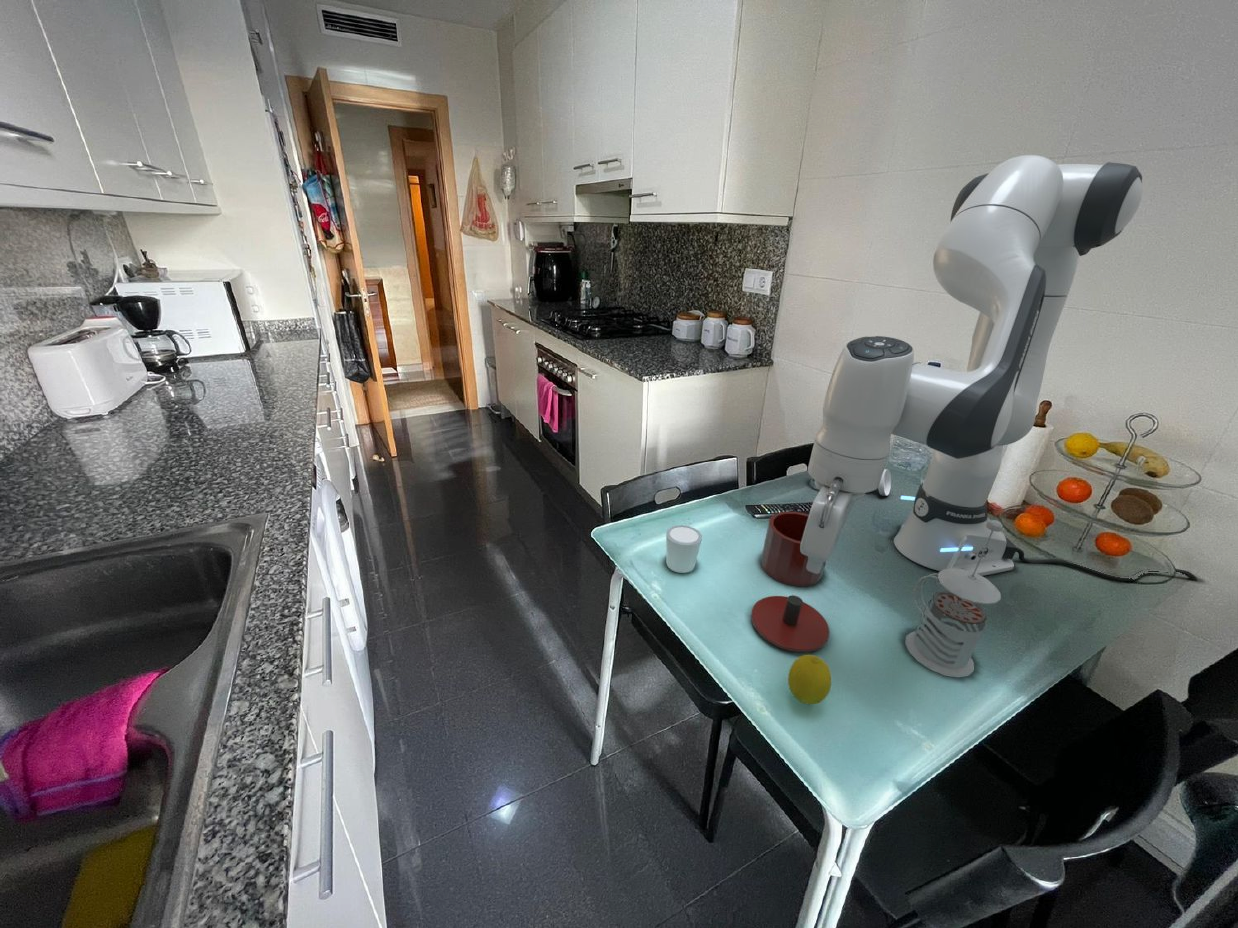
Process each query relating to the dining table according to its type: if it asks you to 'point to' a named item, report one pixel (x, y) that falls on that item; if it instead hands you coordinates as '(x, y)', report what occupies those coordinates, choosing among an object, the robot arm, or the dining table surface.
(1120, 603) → the dining table surface
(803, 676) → the lemon
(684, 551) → the white cup
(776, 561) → the tin
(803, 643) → the tin lid
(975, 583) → the french press
